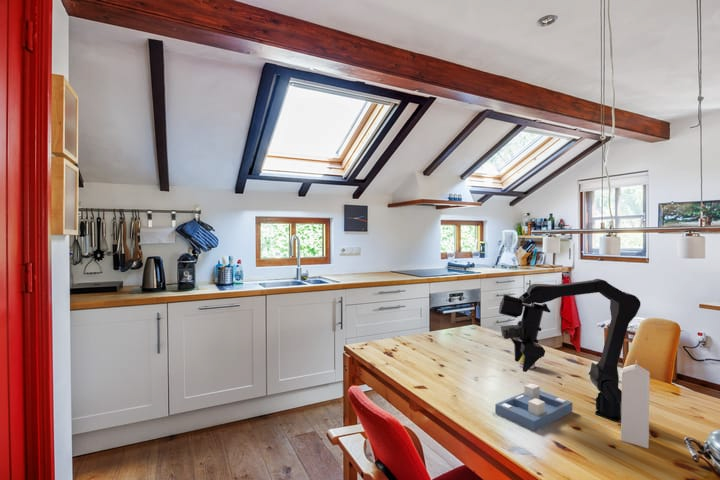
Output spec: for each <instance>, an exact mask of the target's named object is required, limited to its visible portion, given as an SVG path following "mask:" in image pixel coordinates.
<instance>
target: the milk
mask: <svg viewBox="0 0 720 480" xmlns="http://www.w3.org/2000/svg"><path fill="white" fill-rule="evenodd" d="M650 375H651V373H650V371H648V370H647V369H645V368H643V367H642V366H641V365H639V364H638V360H637V358H636V359H635V363H634V364H631V365H628V366H625V367H623V369H622V372H621V391H622V407H621V420H620V426H621V427H620V441H621V442H624V443H625V442H626V443H628V444H632V445H635V446H637V447H638V446H639V447H642V448H645V449H649V444H650V380H651V379H650Z"/></svg>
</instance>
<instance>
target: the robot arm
mask: <svg viewBox="0 0 720 480" xmlns="http://www.w3.org/2000/svg"><path fill="white" fill-rule="evenodd" d="M595 293H599V294H600V295H602V296H603V297H604V298H606V299H607V300H609V302H610V303H609V304H610V305H609V310H610V323H609V327H608V331H607V334H606V338H605V341H604V345H603V350H602V352H601V356H600V359H599V361H597V363H594V362H592V363H591V364H590V370H589V372H588V375H589V380H590V382H591V383H592V384H593V386H595V388H596V389H597V390H598V391H599V392H598V393H597V396H596V397H595V410H596V411H595V412H594V414H595V415H598V416H600V417H604V419H605V418H606V419H609V420H611V421H613V422H616V423H619V422H621V407H622V389H620V388H619V380H620V376H619V370H618V366H619V361H620V358H621V354H622V349H623V346H624V342H625V340H626V336H627V332H628V328H629V324H630V323H631V322H632V321H633V319H635V318H636V317H637V314H638V312H639V310H640V308H641V300H640V299H639V297H638V296H636V295H634V294H631V293H628V292H625V291H622V290H620V289H619V288H617V287H615V286H614V285H611V283H609V282H608V281H606V280H604V279H601V278H594V279H592V280H585V281H575V282H567V283H560V284H559V283H558V284H547V283H533V284H530V285H529V286H528V287H527V289H526V291H525V292H524V293H523V294H522V295H520V296H519V297H515V296H511V295H509V294H506V293H505V294H503V297H502V299H501V301H500V303H499V307H498V314H499V315H503V316H507V317H511V318H515V319H516V318H518V317H521V320H519V321H518V322H517V324H511V325H510V324H508V325H502V326H500V331H501V336H502V337H503V339H504V340H508V339H509V340H511V342H512V344H513V348H514V361H515V362H516V363H517V362H518V361H519V360H520V359H521V357H522V355H524V356H523V367H522V372H525V373H527V372H528V371H529V370H530V369H529V368H530V367H531V366H532V365H533V364H534V363H535V364H536V362H537V361H538V360H540V359H542V358H544V357H545V354H546V349H545V348H544V347H543V346H542V345H541V344H540V343H539V339H538V335H539V332H541V331H542V329H543V328H541V323H542V322H541V321H542V318H543V315H544V312H546V313H551V310H550V309H549V307H548V304H547V303H548V302H551V301H554V300H556V299H558V298H559V299H560V298H562V297H573V296H579V295H587V294H595Z"/></svg>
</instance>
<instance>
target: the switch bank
mask: <svg viewBox="0 0 720 480" xmlns="http://www.w3.org/2000/svg"><path fill="white" fill-rule="evenodd" d="M524 394H525V391H524V392H521V393H519V394H516V395H514V396H512V397H510V398H507V399H504V400H502V401H500V402H497V403H495V404H494V405H495V411H494V413H495V415H498V416H501V417H502V418H505V420H506V419H507V420H508V421H511V422H513V423H515V424H518V425H519V426H522V427H523V428H526V429H528V430H530V431H532V432H536V431H538V430H540V429H541V428H542V429H543V427H547V425H550V424H552V423H553V422H555V421H558V420H559V419H561V418H563V417H565V416H567V415H569V414H571V413H572V412H573V402H572V401H570V400H566V399H564V398H562V397H558V396H555V395H553V394H551V393H548V392H545V391H542V390H540V400H542V401H544V402H545V413H544V414H542V415H540V416H538V417H537V416H535V415H533V414H530V413H528V401H530V400H532V399H531V398H529V397H526V396H524Z"/></svg>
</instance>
